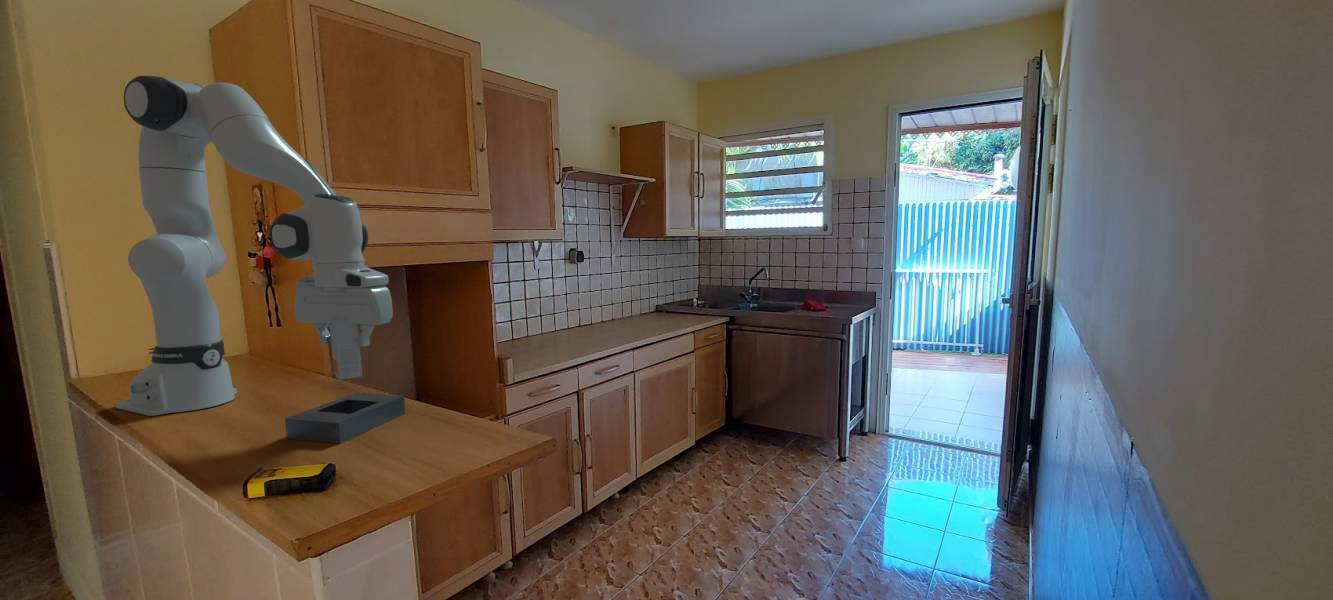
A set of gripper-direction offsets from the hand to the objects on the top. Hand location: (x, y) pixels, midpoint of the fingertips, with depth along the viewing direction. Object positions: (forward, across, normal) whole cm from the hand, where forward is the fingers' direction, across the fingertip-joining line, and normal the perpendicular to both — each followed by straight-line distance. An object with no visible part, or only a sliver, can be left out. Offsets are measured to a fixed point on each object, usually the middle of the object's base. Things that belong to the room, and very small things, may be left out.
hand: (345, 345), depth 109 cm
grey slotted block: (+17, 0, 0) cm, 17 cm away
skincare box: (+6, 0, 0) cm, 6 cm away
